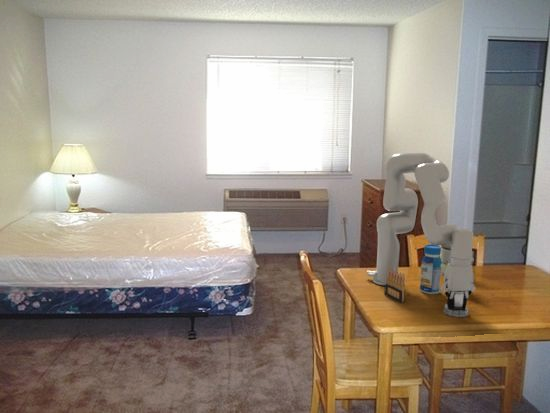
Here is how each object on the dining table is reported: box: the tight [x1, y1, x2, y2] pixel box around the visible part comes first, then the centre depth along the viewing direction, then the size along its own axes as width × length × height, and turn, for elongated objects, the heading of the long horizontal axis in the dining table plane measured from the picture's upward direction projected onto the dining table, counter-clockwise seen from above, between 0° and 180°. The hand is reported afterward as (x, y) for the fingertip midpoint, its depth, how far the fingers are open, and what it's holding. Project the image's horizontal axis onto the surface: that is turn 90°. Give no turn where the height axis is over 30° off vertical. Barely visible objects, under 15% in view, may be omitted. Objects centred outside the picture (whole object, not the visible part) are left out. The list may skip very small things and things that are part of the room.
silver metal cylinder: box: [450, 291, 464, 310], centre depth 195 cm, size 5×5×8 cm
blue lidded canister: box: [419, 243, 442, 295], centre depth 218 cm, size 8×8×20 cm
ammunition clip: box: [384, 268, 406, 304], centre depth 209 cm, size 11×2×12 cm, turn 26°
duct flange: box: [443, 303, 469, 319], centre depth 196 cm, size 9×9×2 cm
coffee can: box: [440, 244, 451, 277], centre depth 243 cm, size 10×10×14 cm
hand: (456, 306), depth 196 cm, fingers closed on silver metal cylinder, 4 cm apart
